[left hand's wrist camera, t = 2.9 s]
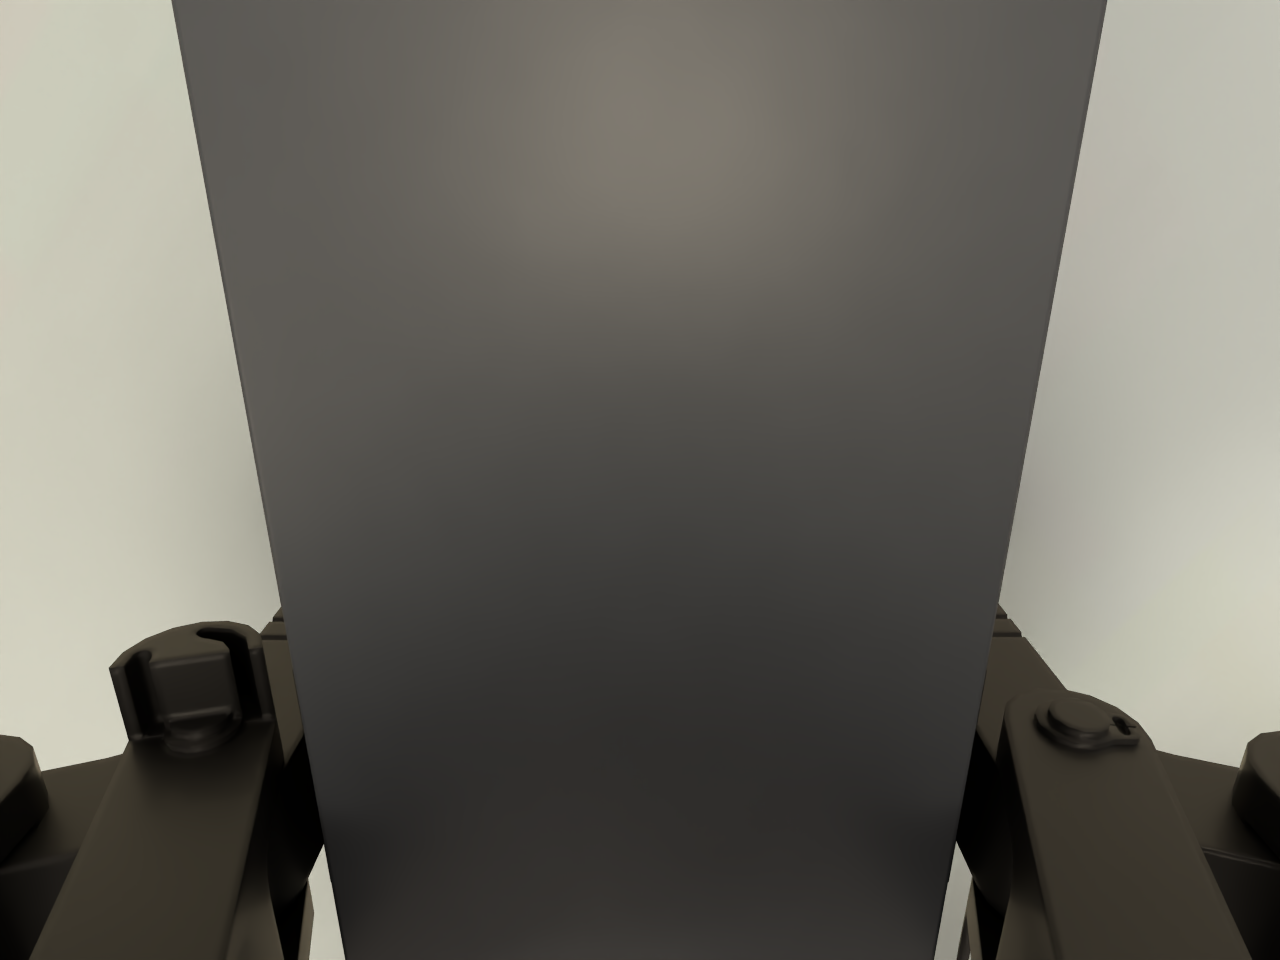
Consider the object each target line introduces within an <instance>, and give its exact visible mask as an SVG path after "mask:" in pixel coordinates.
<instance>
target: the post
mask: <svg viewBox="0 0 1280 960" xmlns="http://www.w3.org/2000/svg"><path fill="white" fill-rule="evenodd" d="M1106 5H1107V0H172V6H173V11H174V17H175V22H176V28H177V33H178V39H179V44H180V50H181V56H182V61H183V67H184V72H185V78H186V83H187V89H188V94H189V100H190V105H191V111H192V116H193V122H194V127H195V133H196V138H197V144H198V149H199V155H200V160H201V166H202V171H203V177H204V182H205V188H206V193H207V199H208V204H209V210H210V215H211V221H212V226H213V232H214V238H215V243H216V249H217V254H218V260H219V265H220V271H221V276H222V282H223V287H224V293H225V298H226V304H227V309H228V315H229V320H230V326H231V331H232V337H233V342H234V348H235V353H236V359H237V364H238V370H239V375H240V381H241V386H242V392H243V397H244V403H245V409H246V414H247V420H248V425H249V431H250V436H251V442H252V447H253V453H254V458H255V464H256V469H257V475H258V480H259V486H260V491H261V497H262V502H263V508H264V513H265V519H266V524H267V530H268V535H269V541H270V546H271V552H272V557H273V563H274V568H275V574H276V579H277V585H278V591H279V596H280V602H281V607H282V613H283V618H284V624H285V629H286V635H287V640H288V646H289V651H290V657H291V662H292V668H293V673H294V679H295V684H296V690H297V695H298V701H299V706H300V712H301V717H302V723H303V728H304V734H305V739H306V745H307V750H308V756H309V762H310V767H311V773H312V778H313V784H314V789H315V795H316V800H317V806H318V811H319V817H320V822H321V828H322V833H323V839H324V844H325V850H326V855H327V861H328V866H329V872H330V877H331V883H332V888H333V894H334V899H335V905H336V910H337V916H338V921H339V927H340V932H341V938H342V944H343V949H344V955H345V960H934V956H935V950H936V945H937V939H938V934H939V928H940V923H941V917H942V912H943V906H944V901H945V895H946V890H947V884H948V879H949V873H950V867H951V862H952V856H953V851H954V845H955V840H956V834H957V829H958V823H959V818H960V812H961V807H962V801H963V796H964V790H965V784H966V779H967V773H968V768H969V762H970V757H971V751H972V746H973V740H974V735H975V729H976V724H977V718H978V713H979V707H980V702H981V696H982V690H983V685H984V679H985V674H986V668H987V663H988V657H989V652H990V646H991V641H992V635H993V630H994V624H995V619H996V613H997V608H998V602H999V596H1000V591H1001V585H1002V580H1003V574H1004V569H1005V563H1006V558H1007V552H1008V547H1009V541H1010V536H1011V530H1012V525H1013V519H1014V513H1015V508H1016V502H1017V497H1018V491H1019V486H1020V480H1021V475H1022V469H1023V464H1024V458H1025V453H1026V447H1027V442H1028V436H1029V431H1030V425H1031V419H1032V414H1033V408H1034V403H1035V397H1036V392H1037V386H1038V381H1039V375H1040V370H1041V364H1042V359H1043V353H1044V348H1045V342H1046V337H1047V331H1048V325H1049V320H1050V314H1051V309H1052V303H1053V298H1054V292H1055V287H1056V281H1057V276H1058V270H1059V265H1060V259H1061V254H1062V248H1063V242H1064V237H1065V231H1066V226H1067V220H1068V215H1069V209H1070V204H1071V198H1072V193H1073V187H1074V182H1075V176H1076V171H1077V165H1078V160H1079V154H1080V148H1081V143H1082V137H1083V132H1084V126H1085V121H1086V115H1087V110H1088V104H1089V99H1090V93H1091V88H1092V82H1093V77H1094V71H1095V65H1096V60H1097V54H1098V49H1099V43H1100V38H1101V32H1102V27H1103V21H1104V16H1105V10H1106Z"/></svg>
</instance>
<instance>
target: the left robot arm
mask: <svg viewBox="0 0 1280 960" xmlns="http://www.w3.org/2000/svg"><path fill="white" fill-rule="evenodd" d="M109 671H110V674H111V678H112V682H113V685H114V689H115V692H116V696H117V700H118V703H119V707H120V711H121V714H122V718H123V721H124V725H125V729H126V732H127V736H128V739H129V742H128V744H127V746H126V748H125V750H124V752H123V754H121V755H117V756H113V757H109V758H105V759H100V760H95V761H91V762H86V763H81V764H76V765H71V766H66V767H61V768H56V769H51V770H46V771H41V770H40V767H39V764H38V761H37V758H36V755H35V752H34V749H33V747H32V746H31V745H30V744H28V743H27V742H26V741H24V740H23V739H22V738H20V737H14V736H6V735H0V960H309V954H310V945H311V936H312V927H313V918H314V909H313V903H312V896H311V891H310V886H309V881H308V877H309V875H310V873H311V871H312V868H313V866H314V864H315V862H316V860H317V857H318V855H319V853H320V851H321V849H322V846H323V844H324V839H323V833H322V828H321V822H320V817H319V811H318V806H317V800H316V795H315V789H314V784H313V778H312V773H311V767H310V762H309V756H308V750H307V745H306V739H305V734H304V728H303V723H302V717H301V712H300V706H299V701H298V695H297V690H296V684H295V679H294V673H293V668H292V662H291V657H290V651H289V646H288V640H287V635H286V629H285V624H284V618H283V613H282V607H281V608H280V609H279V610H278V612H277V613H276V614H275V615H274V617H273V622H269V623H268V624H267V626H266V627H265V628H264V629H263V631H262V632H261V633H260V634H259V633H258V632H257V631H255V630H254V629H253V628H251V627H250V626H249V625H244V624H240V623H235V622H230V621H215V622H199V623H195V624H190V625H185V626H180V627H176V628H172V629H169V630H167V631H164V632H161V633H159V634H156V635H154V636H151V637H148V638H146V639H144V640H142V641H141V642H139V643H138V644H136V645H134V646H133V647H131V648H129V649H128V650H126V651H124V652H123V653H122V654H121V655H120V656H119V657H118V658H117V659H116V661H115V662H114V663H113V664H112V665H111V666H110V667H109ZM956 841H957V843H958V846H959V848H960V850H961V852H962V854H963V856H964V859H965V861H966V863H967V865H968V867H969V870H970V872H971V874H972V881H971V886H970V891H969V896H968V901H967V907H966V912H965V917H964V922H963V927H962V932H961V937H960V943H959V948H958V954H957V960H969V955H970V952H971V960H1280V731H1276V732H1268V733H1261V734H1259V735H1258V736H1257V737H1255V738H1254V739H1252V740H1251V741H1250V742H1248V744H1247V747H1246V750H1245V753H1244V756H1243V759H1242V762H1241V765H1240V768H1237V767H1232V766H1227V765H1222V764H1217V763H1212V762H1207V761H1202V760H1197V759H1192V758H1188V757H1183V756H1178V755H1173V754H1169V753H1166V752H1162V751H1158V750H1156V749H1155V747H1154V744H1153V742H1152V740H1151V739H1150V737H1149V736H1148V735H1147V733H1146V732H1145V731H1144V729H1143V728H1142V727H1141V726H1140V724H1139V723H1138V722H1137V721H1135V720H1134V719H1132V718H1131V717H1130V716H1128V715H1127V714H1125V713H1124V712H1123V711H1121V710H1120V709H1118V708H1117V707H1115V706H1113V705H1110V704H1108V703H1106V702H1104V701H1101V700H1099V699H1097V698H1095V697H1092V696H1090V695H1085V694H1081V693H1077V692H1073V691H1069V690H1067V689H1066V688H1065V687H1064V686H1063V684H1062V683H1061V682H1060V681H1059V679H1058V678H1057V677H1056V676H1055V674H1054V673H1053V672H1052V671H1051V669H1050V668H1049V667H1048V666H1047V664H1046V663H1045V662H1044V660H1043V659H1042V658H1041V657H1040V655H1039V654H1038V653H1037V652H1036V650H1035V649H1034V648H1033V647H1032V645H1031V644H1030V643H1029V642H1028V640H1027V639H1026V638H1025V637H1022V636H1021V631H1020V630H1019V629H1018V628H1017V626H1016V625H1015V624H1014V623H1013V621H1012V620H1011V619H1007V614H1006V613H1005V611H1004V610H1003V609H1002V608H1001V606H1000V605H999V604H998V608H997V613H996V619H995V624H994V630H993V635H992V641H991V646H990V652H989V657H988V663H987V668H986V674H985V679H984V685H983V690H982V696H981V702H980V707H979V713H978V718H977V724H976V729H975V735H974V740H973V746H972V751H971V757H970V762H969V768H968V773H967V779H966V784H965V790H964V796H963V801H962V807H961V812H960V818H959V823H958V829H957V834H956V840H955V844H956ZM324 847H325V844H324ZM954 849H955V845H954ZM325 852H326V850H325ZM953 855H954V851H953ZM326 858H327V855H326ZM952 860H953V856H952ZM327 863H328V861H327ZM951 866H952V862H951ZM328 869H329V866H328ZM950 871H951V867H950ZM329 874H330V872H329ZM949 877H950V873H949ZM330 880H331V877H330ZM948 882H949V879H948Z"/></svg>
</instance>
